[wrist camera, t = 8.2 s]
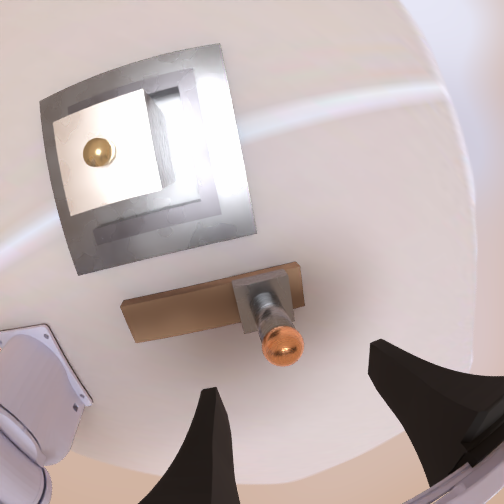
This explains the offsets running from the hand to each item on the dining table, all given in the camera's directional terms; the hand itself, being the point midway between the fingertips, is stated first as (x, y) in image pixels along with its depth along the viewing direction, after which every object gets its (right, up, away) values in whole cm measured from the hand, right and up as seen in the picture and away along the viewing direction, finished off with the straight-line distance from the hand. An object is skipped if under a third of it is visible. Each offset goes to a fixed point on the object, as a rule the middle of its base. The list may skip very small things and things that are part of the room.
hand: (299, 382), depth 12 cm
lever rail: (-5, +2, +9) cm, 10 cm away
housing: (-9, +12, +4) cm, 16 cm away
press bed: (-9, +12, +5) cm, 16 cm away
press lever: (-1, +3, +8) cm, 9 cm away
